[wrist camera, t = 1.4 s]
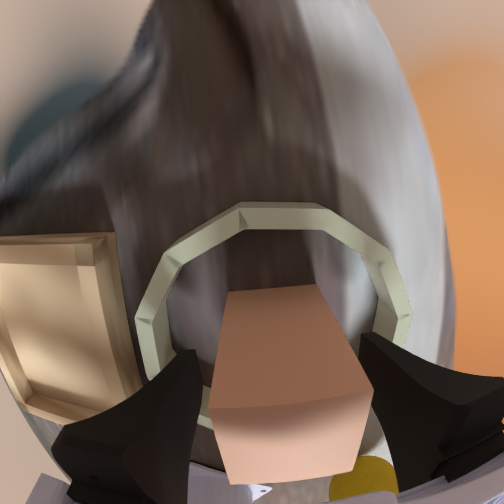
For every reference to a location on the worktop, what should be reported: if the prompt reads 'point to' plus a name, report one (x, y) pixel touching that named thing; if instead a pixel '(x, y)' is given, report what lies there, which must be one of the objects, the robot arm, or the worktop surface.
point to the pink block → (286, 388)
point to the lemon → (364, 478)
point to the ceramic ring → (266, 217)
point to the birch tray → (65, 325)
